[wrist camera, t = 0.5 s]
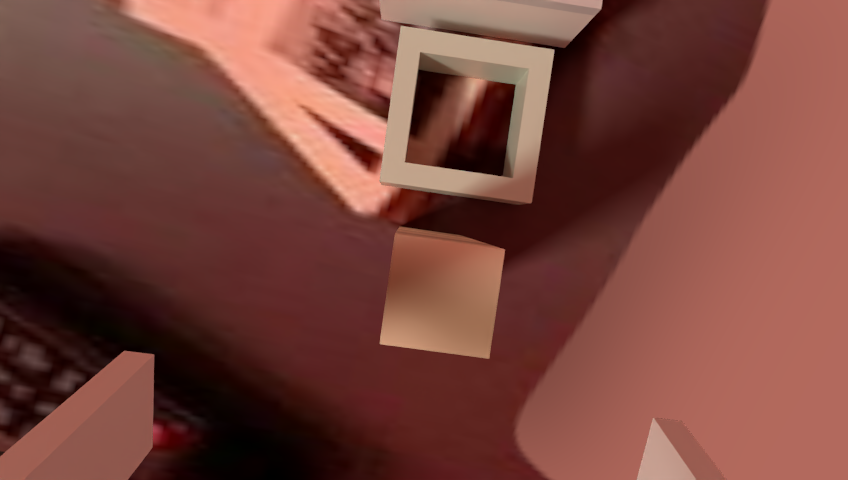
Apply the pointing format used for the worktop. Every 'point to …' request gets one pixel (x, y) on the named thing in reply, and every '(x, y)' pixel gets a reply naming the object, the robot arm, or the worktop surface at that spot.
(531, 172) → the cream square open box
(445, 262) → the wooden square peg
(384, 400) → the worktop surface
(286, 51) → the worktop surface
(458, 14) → the white box with opening
